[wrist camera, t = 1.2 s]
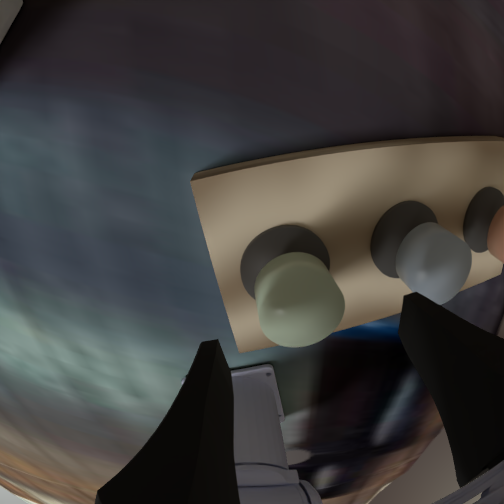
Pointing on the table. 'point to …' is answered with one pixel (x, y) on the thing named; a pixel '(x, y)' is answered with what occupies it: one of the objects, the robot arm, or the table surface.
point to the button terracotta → (497, 235)
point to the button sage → (297, 300)
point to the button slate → (433, 262)
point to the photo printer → (8, 14)
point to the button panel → (347, 218)
